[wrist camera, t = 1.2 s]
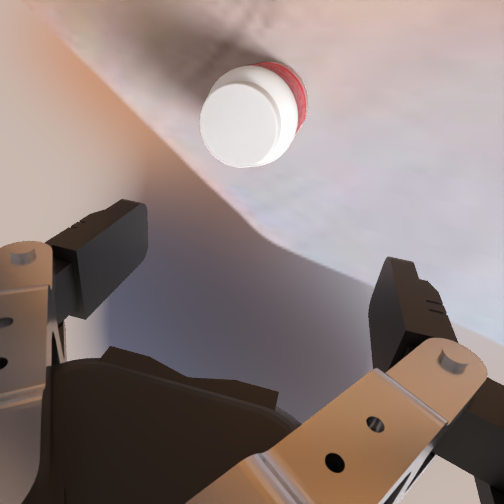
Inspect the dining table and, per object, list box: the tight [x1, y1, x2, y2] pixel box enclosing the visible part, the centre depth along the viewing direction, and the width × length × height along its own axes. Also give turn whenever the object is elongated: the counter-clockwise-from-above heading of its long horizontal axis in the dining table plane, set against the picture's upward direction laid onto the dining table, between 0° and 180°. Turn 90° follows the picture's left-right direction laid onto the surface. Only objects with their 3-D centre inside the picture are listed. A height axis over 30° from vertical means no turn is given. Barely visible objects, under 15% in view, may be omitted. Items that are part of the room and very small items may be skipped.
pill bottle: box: [199, 62, 309, 168], centre depth 25 cm, size 6×6×11 cm
